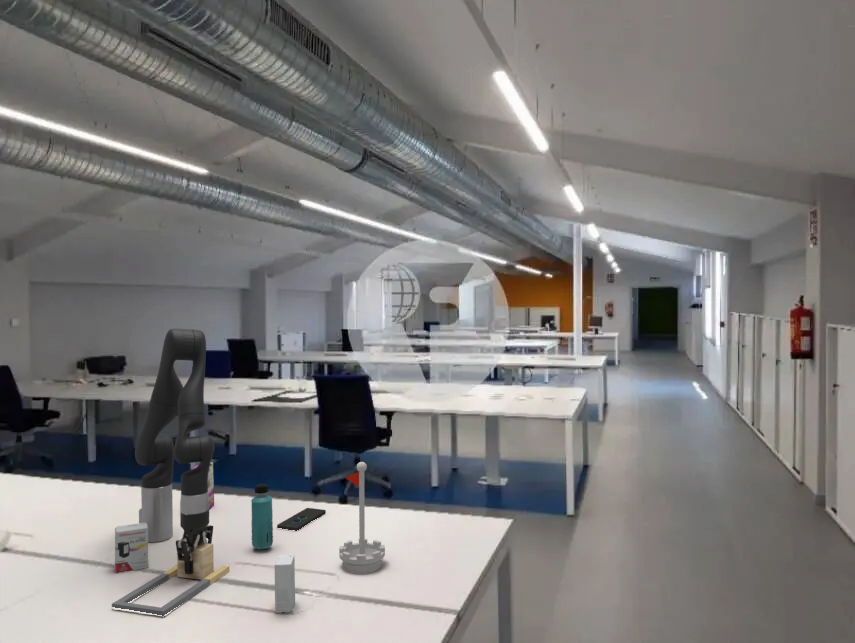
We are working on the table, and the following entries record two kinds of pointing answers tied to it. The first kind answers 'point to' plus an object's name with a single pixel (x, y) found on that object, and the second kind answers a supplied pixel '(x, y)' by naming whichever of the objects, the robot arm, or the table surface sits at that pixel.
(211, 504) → the candy bar box
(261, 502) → the beverage bottle
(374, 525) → the table surface
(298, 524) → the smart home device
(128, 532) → the ink box
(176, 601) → the rail bay
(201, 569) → the wooden block
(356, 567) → the flag stand
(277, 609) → the skincare box
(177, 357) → the robot arm
